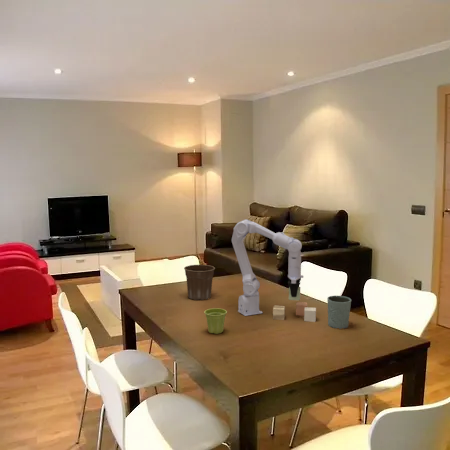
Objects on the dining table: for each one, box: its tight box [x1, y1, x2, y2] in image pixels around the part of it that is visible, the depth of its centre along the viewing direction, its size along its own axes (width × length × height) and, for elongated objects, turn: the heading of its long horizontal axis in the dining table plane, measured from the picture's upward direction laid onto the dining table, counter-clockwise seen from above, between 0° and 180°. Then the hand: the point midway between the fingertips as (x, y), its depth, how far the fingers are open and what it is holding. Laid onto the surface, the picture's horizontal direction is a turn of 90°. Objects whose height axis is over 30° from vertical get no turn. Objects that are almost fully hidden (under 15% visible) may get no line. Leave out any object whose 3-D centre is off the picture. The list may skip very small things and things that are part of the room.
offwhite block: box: [303, 306, 317, 323], centre depth 208 cm, size 5×5×5 cm
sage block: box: [288, 286, 301, 301], centre depth 212 cm, size 5×5×5 cm
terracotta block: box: [295, 301, 308, 317], centre depth 216 cm, size 5×5×5 cm
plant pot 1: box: [184, 264, 216, 301], centre depth 244 cm, size 16×16×16 cm
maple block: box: [272, 305, 286, 321], centre depth 211 cm, size 5×5×5 cm
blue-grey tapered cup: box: [326, 295, 352, 330], centre depth 199 cm, size 10×10×12 cm
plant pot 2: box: [203, 307, 228, 335], centre depth 193 cm, size 9×9×9 cm
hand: (294, 295), depth 212 cm, fingers closed on sage block, 5 cm apart
